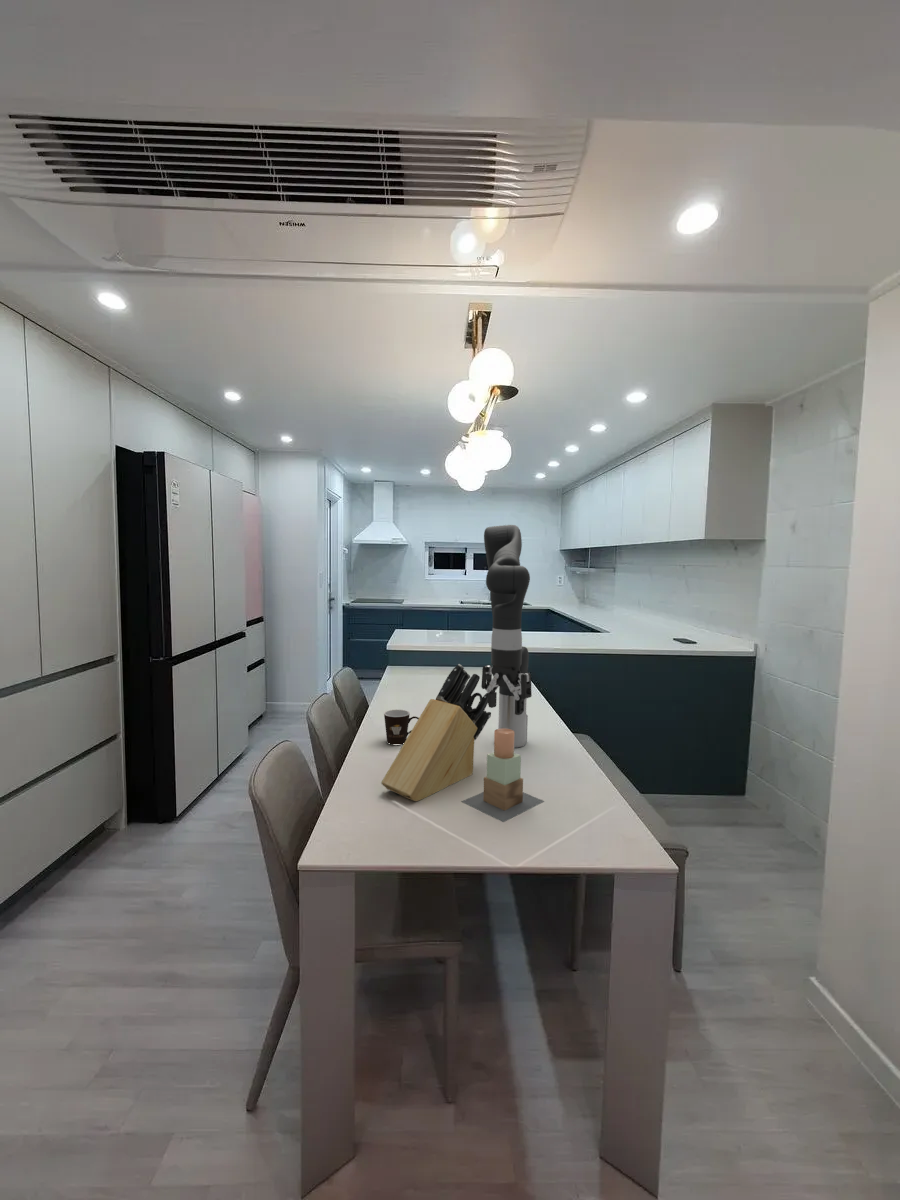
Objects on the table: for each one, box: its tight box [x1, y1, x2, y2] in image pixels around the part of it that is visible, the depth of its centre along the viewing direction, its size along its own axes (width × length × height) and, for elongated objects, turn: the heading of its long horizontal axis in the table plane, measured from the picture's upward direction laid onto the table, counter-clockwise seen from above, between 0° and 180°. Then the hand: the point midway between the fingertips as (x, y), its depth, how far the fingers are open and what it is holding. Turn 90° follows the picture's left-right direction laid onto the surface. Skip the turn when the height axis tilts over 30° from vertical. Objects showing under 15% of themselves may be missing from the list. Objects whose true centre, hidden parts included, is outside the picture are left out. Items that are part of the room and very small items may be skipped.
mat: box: [460, 791, 545, 823], centre depth 131 cm, size 16×14×1 cm
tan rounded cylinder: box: [493, 728, 515, 759], centre depth 130 cm, size 5×5×6 cm
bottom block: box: [483, 776, 524, 811], centre depth 131 cm, size 7×7×6 cm
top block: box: [486, 751, 522, 785], centre depth 130 cm, size 6×6×6 cm
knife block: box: [380, 663, 492, 802], centre depth 144 cm, size 11×35×31 cm, turn 140°
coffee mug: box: [383, 709, 419, 744], centre depth 174 cm, size 12×9×10 cm
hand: (505, 710), depth 129 cm, fingers open, 8 cm apart
